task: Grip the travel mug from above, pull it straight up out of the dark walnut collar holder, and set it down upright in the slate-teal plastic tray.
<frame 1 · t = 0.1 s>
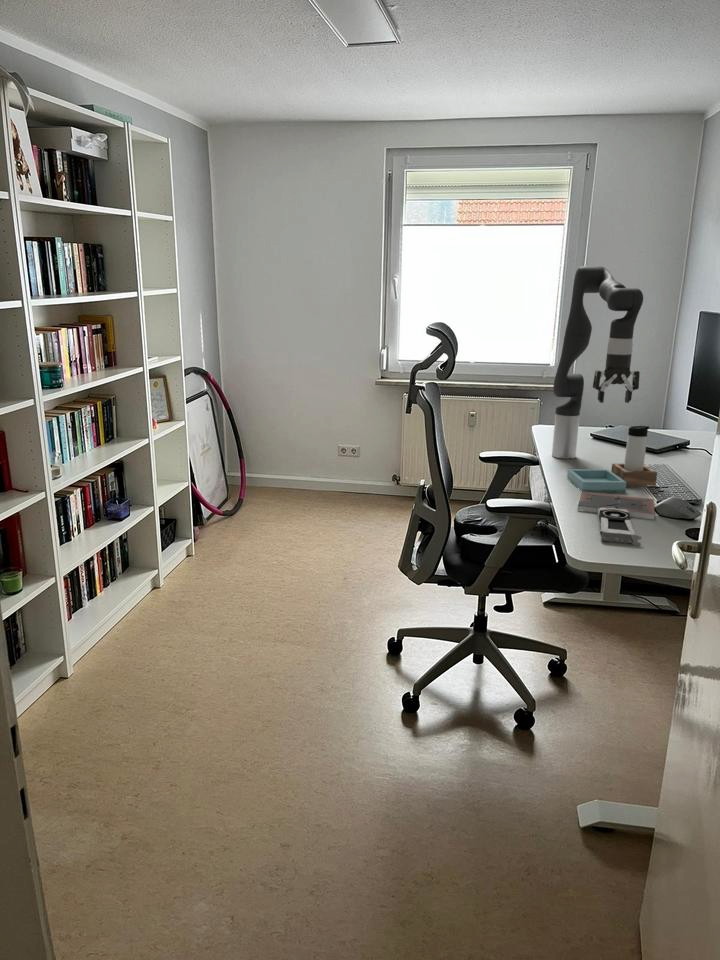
hand: (613, 402, 224), 29 cm above the table, tool pointing down, fingers open, 8 cm apart
graphics card: (617, 531, 192), on the table
tray: (595, 485, 234), on the table
travel mug: (632, 482, 240), resting in holder
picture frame: (615, 509, 212), on the table
holder: (632, 481, 240), on the table
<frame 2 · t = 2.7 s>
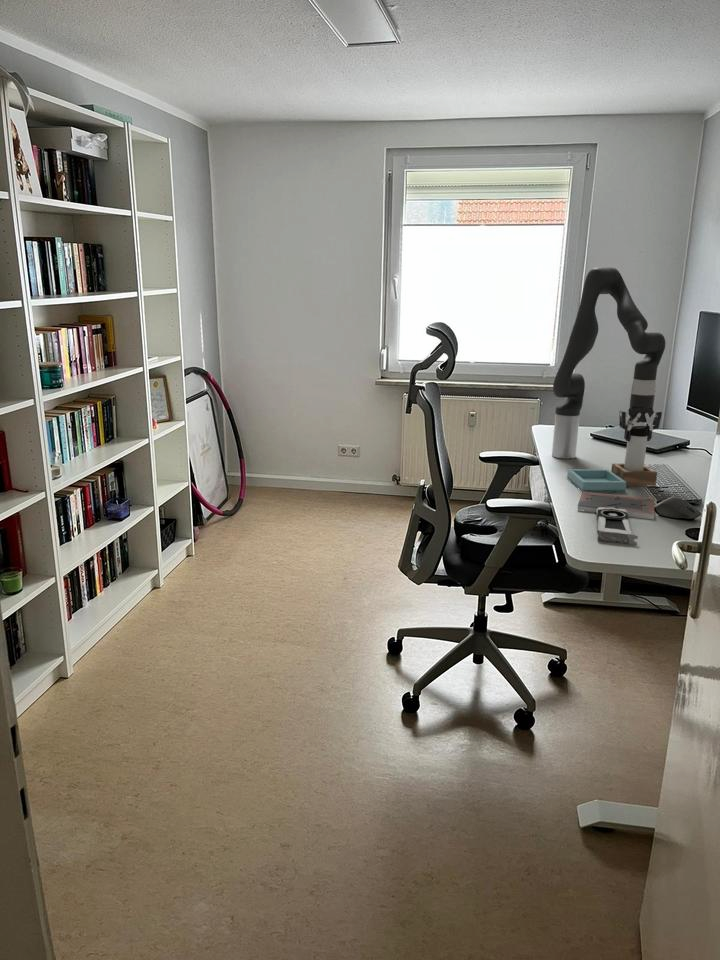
hand: (637, 440, 236), 15 cm above the table, tool pointing down, fingers closed on travel mug, 6 cm apart
travel mug: (632, 482, 240), resting in holder, touching gripper
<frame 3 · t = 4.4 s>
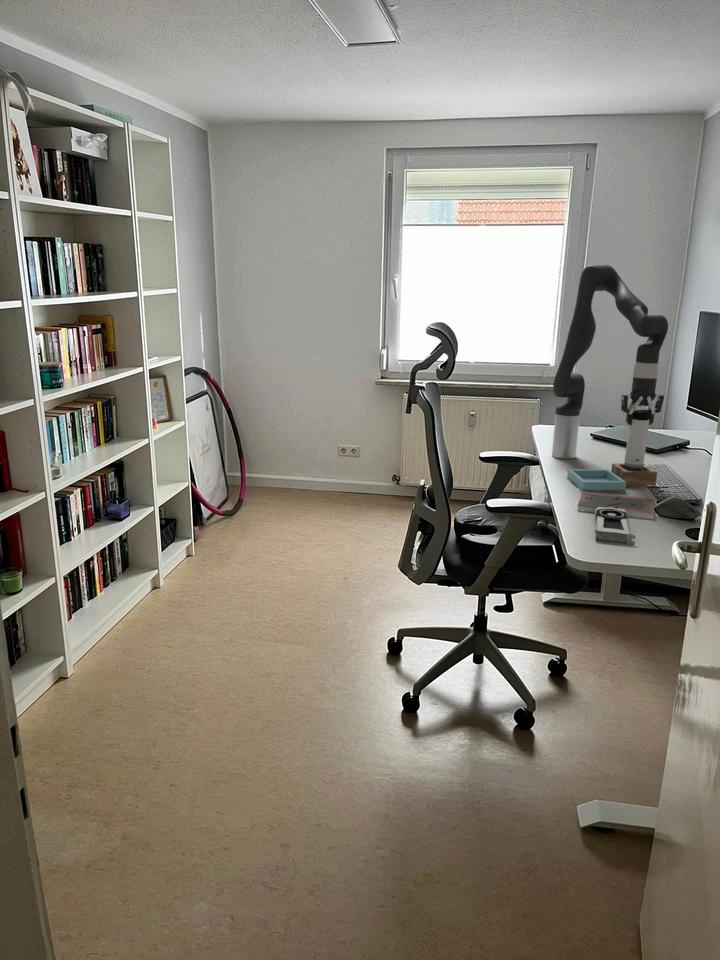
hand: (639, 424, 234), 20 cm above the table, tool pointing down, fingers closed on travel mug, 6 cm apart
travel mug: (634, 466, 238), point 5 cm above the table, touching gripper
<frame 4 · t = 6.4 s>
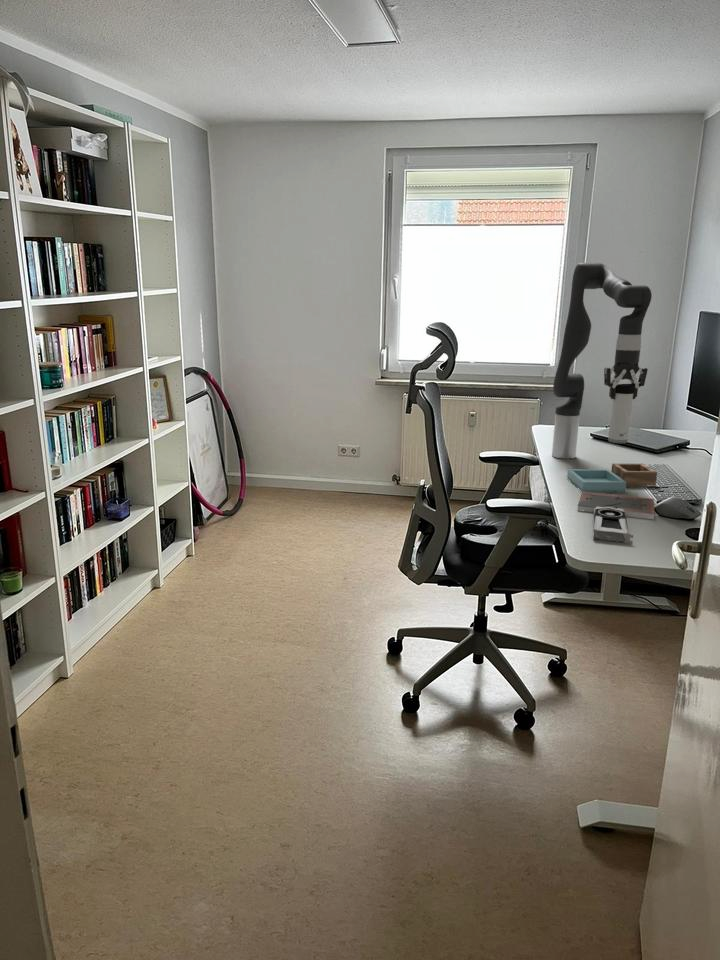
hand: (622, 398, 229), 30 cm above the table, tool pointing down, fingers closed on travel mug, 6 cm apart
travel mug: (618, 442, 233), point 15 cm above the table, touching gripper
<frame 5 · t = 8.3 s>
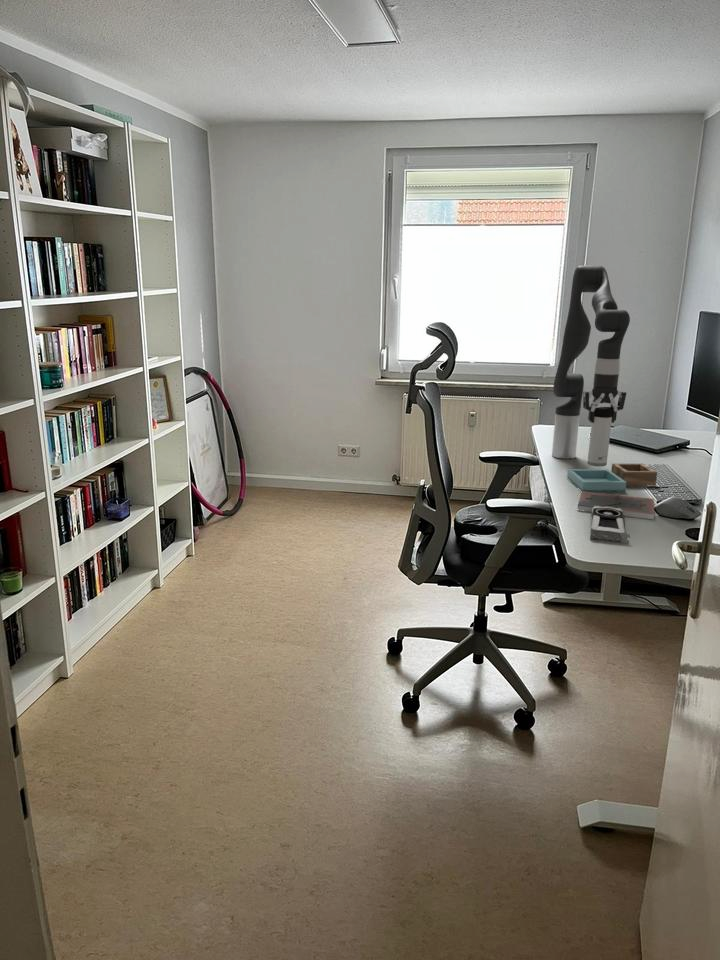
hand: (601, 422, 229), 22 cm above the table, tool pointing down, fingers closed on travel mug, 6 cm apart
travel mug: (597, 464, 233), point 7 cm above the table, touching gripper
when the fingers open (17 cm above the table, at t = 9.9 s): travel mug drops 1 cm, resting on tray.
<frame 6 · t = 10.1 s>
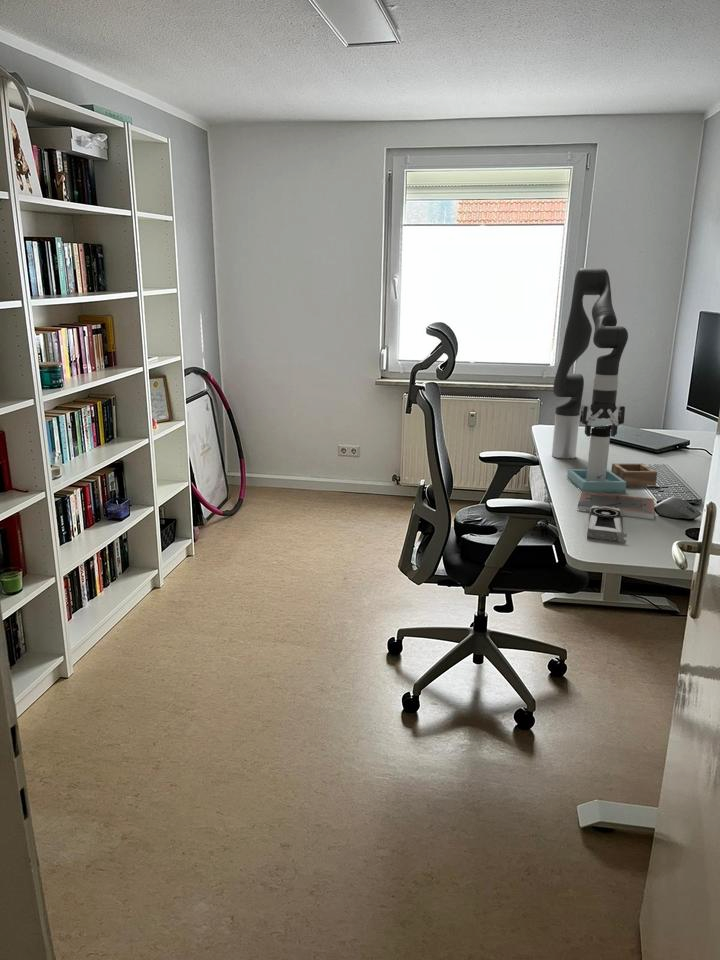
hand: (600, 436, 230), 17 cm above the table, tool pointing down, fingers open, 8 cm apart
travel mug: (596, 483, 234), point 1 cm above the table, touching tray
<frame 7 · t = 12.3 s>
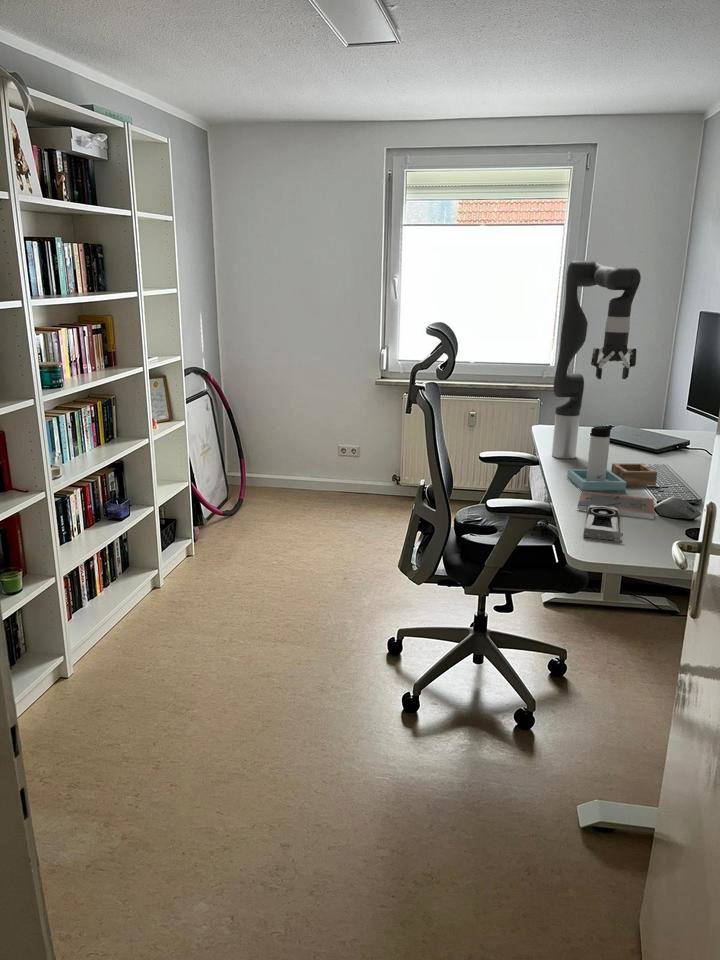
hand: (611, 379, 232), 36 cm above the table, tool pointing down, fingers open, 8 cm apart
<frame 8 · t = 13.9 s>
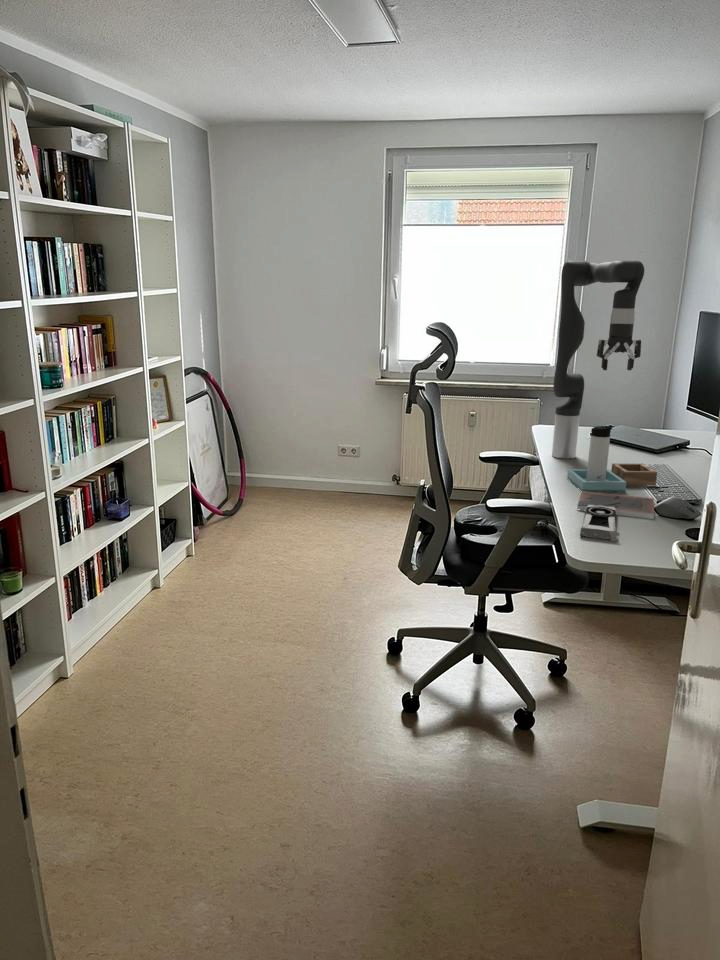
hand: (616, 370, 236), 38 cm above the table, tool pointing down, fingers open, 8 cm apart
at the end: travel mug inside the target area on the tray (0.4 cm from its centre), point 0.6 cm above the tray's base; travel mug tilted 0°; the gripper is holding nothing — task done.
